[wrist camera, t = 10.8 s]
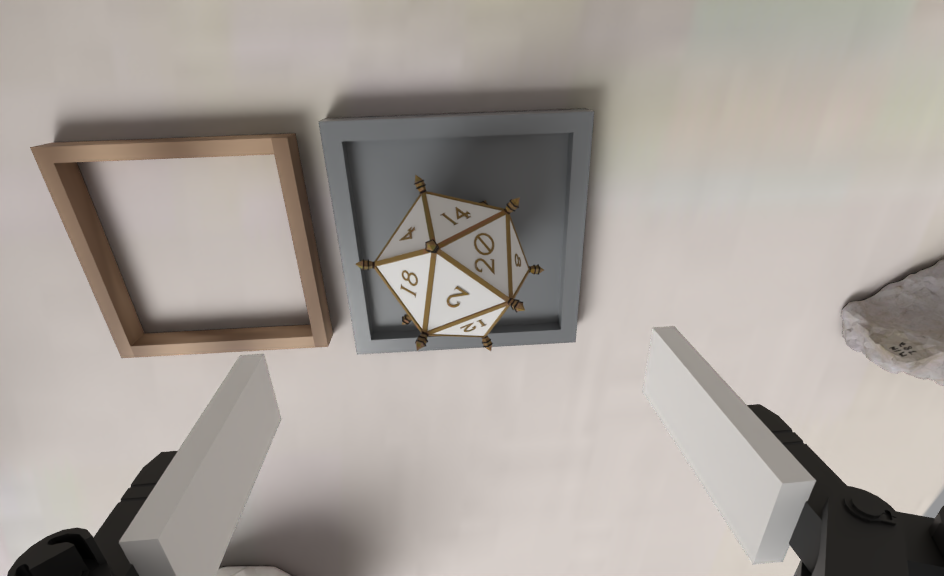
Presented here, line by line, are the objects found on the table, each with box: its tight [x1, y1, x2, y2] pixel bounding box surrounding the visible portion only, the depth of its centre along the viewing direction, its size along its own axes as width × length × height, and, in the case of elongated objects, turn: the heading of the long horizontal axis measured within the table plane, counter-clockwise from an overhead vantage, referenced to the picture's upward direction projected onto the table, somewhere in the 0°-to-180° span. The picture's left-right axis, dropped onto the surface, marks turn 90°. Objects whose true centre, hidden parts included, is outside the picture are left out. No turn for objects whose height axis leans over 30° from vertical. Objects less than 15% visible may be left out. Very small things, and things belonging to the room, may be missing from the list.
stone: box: [841, 260, 944, 386], centre depth 30 cm, size 10×8×6 cm
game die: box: [355, 174, 544, 351], centre depth 24 cm, size 9×8×10 cm
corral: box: [30, 133, 333, 358], centre depth 27 cm, size 13×13×2 cm
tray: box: [319, 109, 594, 354], centre depth 27 cm, size 14×14×2 cm
